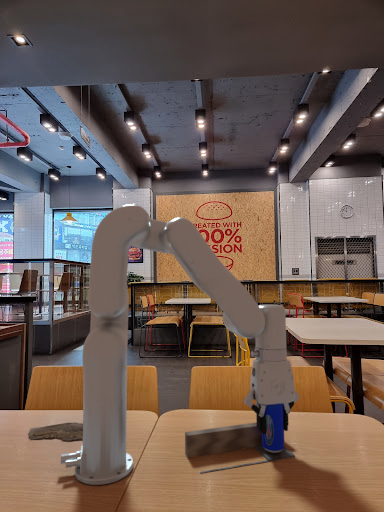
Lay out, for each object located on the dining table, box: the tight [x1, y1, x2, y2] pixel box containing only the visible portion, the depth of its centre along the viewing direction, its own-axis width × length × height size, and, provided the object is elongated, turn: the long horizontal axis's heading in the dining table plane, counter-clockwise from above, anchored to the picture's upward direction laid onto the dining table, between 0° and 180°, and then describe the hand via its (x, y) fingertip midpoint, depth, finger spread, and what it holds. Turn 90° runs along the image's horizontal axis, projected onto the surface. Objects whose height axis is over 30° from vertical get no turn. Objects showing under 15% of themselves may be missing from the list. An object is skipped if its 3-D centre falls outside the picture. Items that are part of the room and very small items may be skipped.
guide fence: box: [184, 421, 296, 474], centre depth 81 cm, size 26×9×5 cm, turn 106°
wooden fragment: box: [27, 421, 83, 442], centre depth 94 cm, size 26×11×1 cm, turn 84°
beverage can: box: [262, 404, 285, 453], centre depth 82 cm, size 5×5×15 cm
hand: (272, 429), depth 82 cm, fingers closed on beverage can, 5 cm apart
